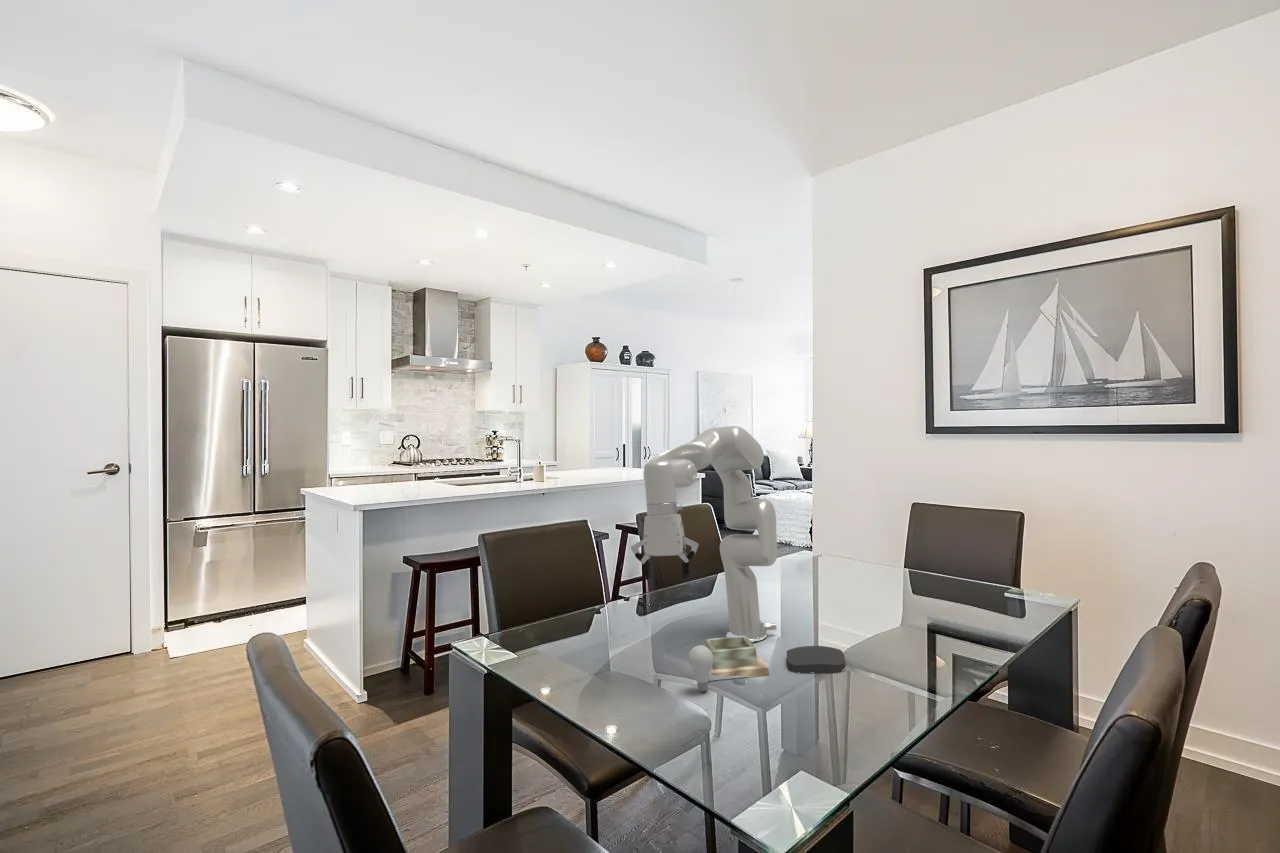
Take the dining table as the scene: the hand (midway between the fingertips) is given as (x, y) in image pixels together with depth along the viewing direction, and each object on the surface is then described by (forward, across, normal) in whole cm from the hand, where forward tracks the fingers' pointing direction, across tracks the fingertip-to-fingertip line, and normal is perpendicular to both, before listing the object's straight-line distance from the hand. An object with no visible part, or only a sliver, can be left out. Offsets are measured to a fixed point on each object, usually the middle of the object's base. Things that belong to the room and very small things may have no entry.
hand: (666, 578), depth 156 cm
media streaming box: (+28, -34, -19) cm, 48 cm away
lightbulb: (+27, -7, +2) cm, 28 cm away
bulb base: (+27, -12, -15) cm, 33 cm away
